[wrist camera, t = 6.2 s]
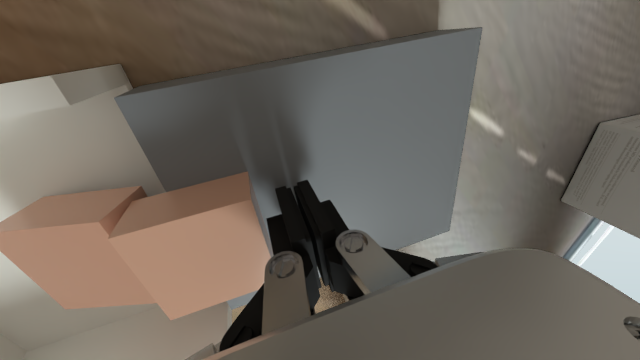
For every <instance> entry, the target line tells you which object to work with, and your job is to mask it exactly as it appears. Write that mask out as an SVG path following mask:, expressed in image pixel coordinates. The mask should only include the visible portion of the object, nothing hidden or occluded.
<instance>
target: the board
mask: <svg viewBox="0 0 640 360" xmlns="http://www.w3.org/2000/svg"><path fill="white" fill-rule="evenodd" d="M481 33H482V27H479V28H464V29H450V30H437V31H432V32H427V33H421V34H416V35H411V36H405V37H400V38H394V39H389V40H384V41H378V42H373V43H368V44H362V45H357V46H352V47H346V48H341V49H336V50H330V51H325V52H319V53H314V54H309V55H303V56H298V57H293V58H287V59H282V60H277V61H271V62H266V63H261V64H255V65H250V66H244V67H239V68H234V69H228V70H223V71H218V72H212V73H207V74H202V75H196V76H191V77H185V78H180V79H175V80H169V81H164V82H159V83H153V84H148V85H143V86H139V87H136V88H134V89H132V90H130V91H128V92H125V93H123V94H121V95H119V96H117V97H114V99H115V101H116V103H117V105H118V107H119V108H120V110H121V112H122V114H123V116H124V117H125V119H126V121H127V123H128V125H129V126H130V128H131V130H132V132H133V134H134V135H135V137H136V139H137V141H138V143H139V144H140V146H141V148H142V150H143V152H144V153H145V155H146V157H147V159H148V161H149V162H150V164H151V166H152V168H153V170H154V171H155V173H156V175H157V177H158V179H159V180H160V182H161V184H162V186H163V188H164V189H165V191H166V192H169V191H173V190H177V189H181V188H185V187H189V186H193V185H197V184H200V183H204V182H208V181H212V180H216V179H220V178H224V177H228V176H232V175H236V174H239V173H243V172H247V171H248V173H249V177H250V180H251V183H252V186H253V189H254V192H255V195H256V198H257V201H258V204H259V207H260V210H261V213H262V217H263V220H264V223H265V226H266V229H267V232H268V235H269V230H268V225H267V219H266V218H269V217H273V216H276V215H279V214H282V213H281V210H280V206H279V202H278V199H277V195H276V191H275V188H279V187H283V186H286V188H291V190H292V192H293V195H294V197H295V200H296V196H295V191H294V186H297V182H301V181H304V180H308V181H309V183H310V185H311V187H312V188H313V190H314V192H315V194H316V196H317V197H318V199H319V201H320V202H323V201H326V200H331V202H332V203H333V205H334V206H335V208H336V210H337V211H338V213H339V214H340V216H341V217H342V219H343V221H344V222H345V224H346V225H347V227H348V229H349V230H354V229H355V230H361V231H363V232H365V233H367V234H368V235H369V236H370V237H371V238H372V239H373V240H374V241H375V242H376V243H377V244H378V245H379V246H380V247H383V248H387V249H391V250H398V249H400V248H403V247H406V246H409V245H411V244H414V243H417V242H420V241H422V240H425V239H428V238H431V237H433V236H436V235H439V234H442V233H444V232H447V231H449V230H450V224H451V218H452V212H453V206H454V199H455V193H456V187H457V181H458V175H459V169H460V163H461V156H462V150H463V144H464V138H465V132H466V126H467V119H468V113H469V107H470V101H471V95H472V89H473V82H474V76H475V70H476V64H477V58H478V52H479V45H480V39H481ZM296 202H297V200H296ZM297 205H298V204H297ZM269 238H270V235H269ZM270 241H271V240H270ZM317 269H318V267H317ZM318 274H319V278H320V277H321V275H320V273H319V270H318ZM257 291H258V290H257ZM257 291H254V292H251V293H248V294H245V295H242V296H239V297H237V298H234V299H231V300H228V301H227V303H228V305H229V307H230V308H231V310H232V309H235V308H238V307H240V306H243V305H246V304H248V303H249V302H250V300H251V299H252V298H253V296H254V295H255V294H256V293H257Z"/></svg>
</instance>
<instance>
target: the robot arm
mask: <svg viewBox="0 0 640 360" xmlns="http://www.w3.org/2000/svg"><path fill="white" fill-rule="evenodd" d="M275 191H276V195H277V199H278V202H279V206H280V210H281V213H282V214H279V215H276V216H273V217H269V218H266V219H267V225H268V230H269V235H270V240H271V245H272V250H273V255H274V256H273V257H272V258H271V259H270V260H269V261H268V262H267V264H266V267H265V276H264V283H263V285H262V286H261V287H260V289H259V290H258V291H257V293H256V294H255V295H254V296H253V298H252V299H251V300H250V302H249V303H248V304H247V306H246V307H245V308H244V309H243V311H242V312H241V313H240V315H239V316H238V317H237V319H236V320H235V321H234V322H233V324H232V325H231V326H230V328H229V329H228V330H227V332H226V333H225V335H224V336H223V338H222V341H221V342H219V343H217V344H216V345H213V343H211V344H210V345H208V346H206V347H205V348H203V349H201V350H200V351H198V352H196V353H195V354H193V355H192V356H190V357H188V358H187V359H185V360H640V303H638V302H636V301H635V300H633V299H632V298H630V297H628V296H627V295H625V294H624V293H622V292H621V291H619V290H617V289H616V288H614V287H613V286H611V285H610V284H608V283H606V282H605V281H603V280H601V279H600V278H598V277H596V276H595V275H593V274H591V273H590V272H588V271H586V270H584V269H583V268H581V267H579V266H577V265H575V264H574V263H572V262H570V261H568V260H566V259H564V258H562V257H560V256H558V255H555V254H553V253H550V252H547V251H543V250H538V249H529V248H507V249H499V250H492V251H487V252H478V253H471V254H464V255H457V256H450V257H443V258H436V259H435V262H432V261H430V260H428V259H425V258H422V257H418V256H414V255H410V254H406V253H403V252H399V251H395V250H391V249H387V248H383V247H380V246H379V245H378V244H377V243H376V242H375V241H374V240H373V239H372V238H371V237H370V236H369V235H368V234H367V233H365V232H363V231H361V230H355V229H354V230H349V229H348V227H347V225H346V224H345V222H344V221H343V219H342V217H341V216H340V214H339V213H338V211H337V210H336V208H335V206H334V205H333V203H332V202H331V200H326V201H323V202H320V201H319V199H318V197H317V196H316V194H315V192H314V190H313V188H312V187H311V185H310V183H309V181H308V180H304V181H301V182H297V186H294V191H295V196H296V200H297V202H296V200H295V197H294V195H293V192H292V190H291V188H286V186H283V187H279V188H275ZM297 204H298V205H297ZM317 267H318V269H317ZM318 270H319V273H320V275H321V278H322V280H323V283H324V285H325V286H327V285H329V286H330V289H331V291H332V292H333V291H336V292H339V293H342V294H343V297H344V299H345V301H346V302H345V303H343V304H340V305H337V306H335V307H332V308H330V309H327V310H325V311H322V312H319V313H317V314H316V313H315V308H314V306H315V305H316V303H317V301H318V299H319V297H320V294H319V289H318V288H321V283H320V279H319V274H318Z"/></svg>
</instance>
